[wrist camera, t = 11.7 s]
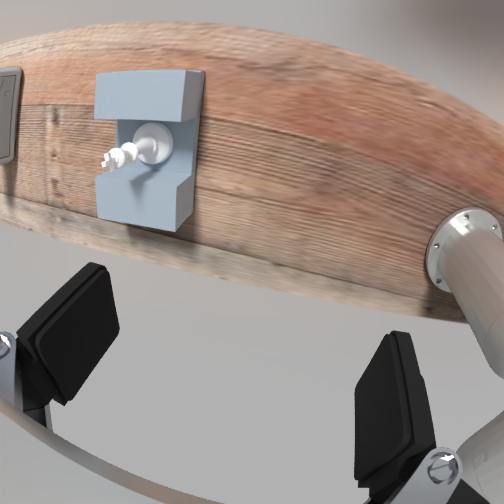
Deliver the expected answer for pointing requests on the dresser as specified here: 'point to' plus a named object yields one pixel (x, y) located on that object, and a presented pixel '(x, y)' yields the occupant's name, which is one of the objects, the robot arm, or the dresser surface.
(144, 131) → the chess piece
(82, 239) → the dresser surface
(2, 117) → the digital clock
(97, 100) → the slot block
